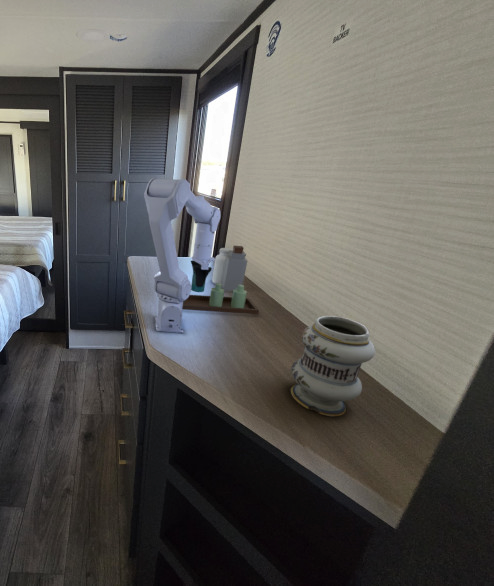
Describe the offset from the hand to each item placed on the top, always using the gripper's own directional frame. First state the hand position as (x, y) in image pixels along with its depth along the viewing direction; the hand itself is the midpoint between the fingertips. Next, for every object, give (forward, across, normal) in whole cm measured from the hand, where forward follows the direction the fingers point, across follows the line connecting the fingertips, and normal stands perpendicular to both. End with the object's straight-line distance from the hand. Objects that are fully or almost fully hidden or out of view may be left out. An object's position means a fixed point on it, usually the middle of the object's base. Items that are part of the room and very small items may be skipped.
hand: (198, 284), depth 106 cm
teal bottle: (+2, 0, 0) cm, 2 cm away
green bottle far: (+9, +3, -15) cm, 17 cm away
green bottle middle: (+9, +3, -7) cm, 12 cm away
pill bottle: (+10, +31, -16) cm, 36 cm away
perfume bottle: (+10, +23, -18) cm, 31 cm away
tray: (+10, +3, -7) cm, 12 cm away
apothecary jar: (+10, -44, -19) cm, 49 cm away
